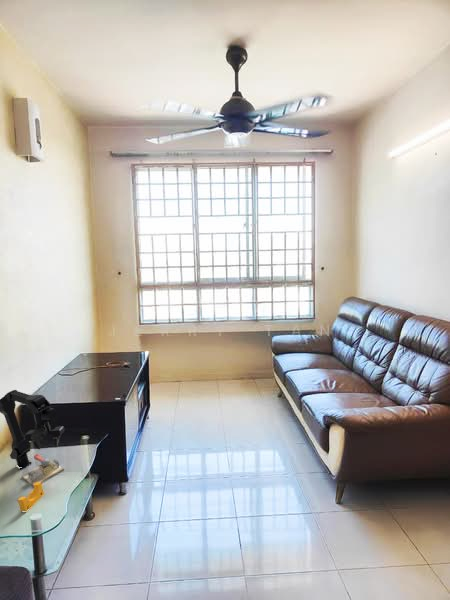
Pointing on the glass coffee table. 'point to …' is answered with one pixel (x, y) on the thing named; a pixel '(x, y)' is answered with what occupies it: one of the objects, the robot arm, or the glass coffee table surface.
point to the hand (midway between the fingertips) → (48, 448)
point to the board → (43, 478)
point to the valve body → (43, 471)
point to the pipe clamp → (31, 497)
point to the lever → (42, 460)
